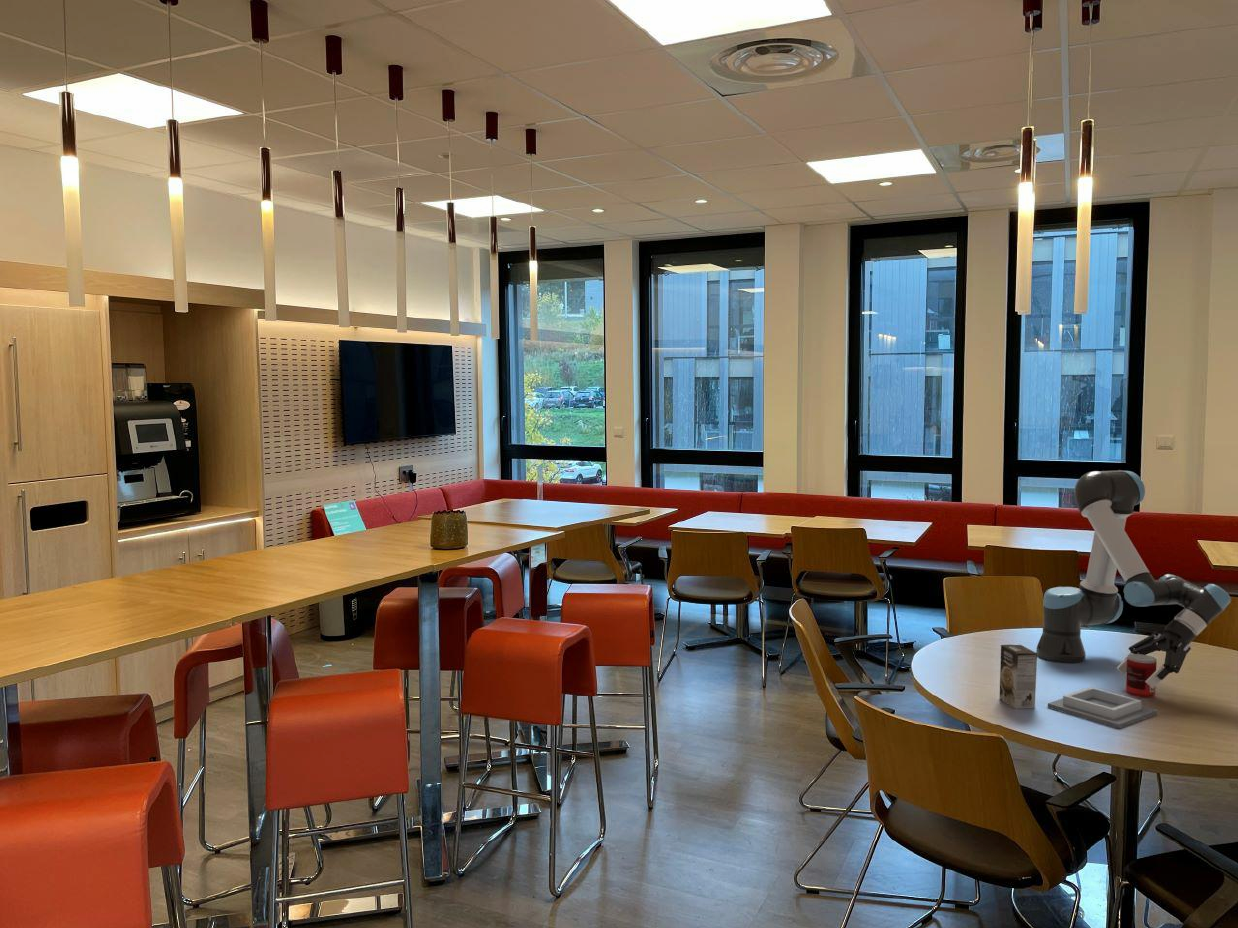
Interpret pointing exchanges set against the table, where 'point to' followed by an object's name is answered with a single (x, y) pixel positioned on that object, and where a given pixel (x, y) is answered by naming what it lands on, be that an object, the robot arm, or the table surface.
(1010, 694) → the coffee box
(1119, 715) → the end holder
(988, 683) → the table surface
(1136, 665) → the canned food
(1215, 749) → the table surface
